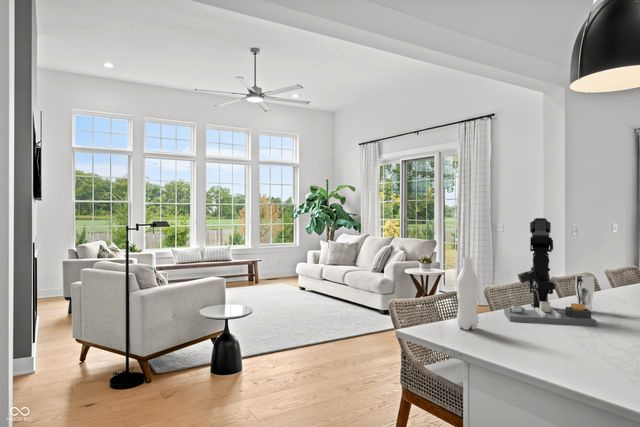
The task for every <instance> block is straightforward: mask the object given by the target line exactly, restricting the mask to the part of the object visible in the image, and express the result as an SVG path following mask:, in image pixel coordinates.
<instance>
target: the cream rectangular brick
mask: <svg viewBox="0 0 640 427" xmlns="http://www.w3.org/2000/svg"><path fill="white" fill-rule="evenodd" d="M550 308H551V302H550V301H548V302H545V301H540V308H539V309H540V310H542V311H543V312H550Z"/></svg>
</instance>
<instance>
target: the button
mask: <svg viewBox="0 0 640 427" xmlns="http://www.w3.org/2000/svg"><path fill="white" fill-rule="evenodd" d="M570 307H571V310H577V311H585V305H583V304H577V303H574V302H573V303H571V306H570Z"/></svg>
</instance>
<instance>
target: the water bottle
mask: <svg viewBox="0 0 640 427" xmlns="http://www.w3.org/2000/svg"><path fill="white" fill-rule="evenodd" d="M472 259H473V257H466V256H465V257H462V264H461V265H462V267H461V270H460V272H459V274H458V276H457V279H456V282H457V283H456V287H457V288H456V290H457V291H456V293H457V294H456V298H457V307H458V308H457V314H456V324H457V325H458V328H460V329H463V330H465V331H468V330H470V329H471V330H473V331H475V330H476V329H477V328H478V324H479V315H478V301H479V295H478V294H479V293H478V292H479V285H478V284H479V279H478V277H477V274H476V273H475V270H474V269H473V265H474V264H473V260H472Z"/></svg>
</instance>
